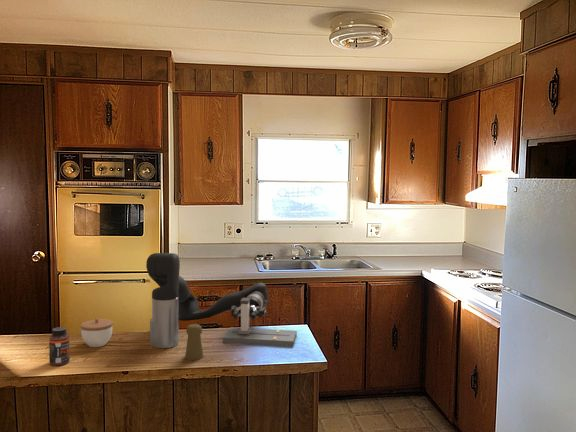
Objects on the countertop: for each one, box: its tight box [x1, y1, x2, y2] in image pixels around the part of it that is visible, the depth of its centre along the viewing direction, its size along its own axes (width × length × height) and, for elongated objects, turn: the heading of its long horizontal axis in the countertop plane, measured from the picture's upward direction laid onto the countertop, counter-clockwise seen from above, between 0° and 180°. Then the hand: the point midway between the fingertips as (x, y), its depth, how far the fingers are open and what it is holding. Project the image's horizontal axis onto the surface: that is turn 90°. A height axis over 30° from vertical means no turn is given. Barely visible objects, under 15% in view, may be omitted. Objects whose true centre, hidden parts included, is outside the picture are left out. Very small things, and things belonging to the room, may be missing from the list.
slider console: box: [222, 326, 298, 348], centre depth 180 cm, size 26×12×2 cm, turn 83°
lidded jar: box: [80, 318, 114, 348], centre depth 172 cm, size 11×11×9 cm
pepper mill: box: [184, 323, 204, 361], centre depth 161 cm, size 6×6×11 cm
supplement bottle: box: [48, 326, 71, 367], centre depth 154 cm, size 6×6×11 cm
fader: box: [238, 298, 253, 334], centre depth 180 cm, size 4×5×13 cm
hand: (243, 316), depth 178 cm, fingers open, 5 cm apart
